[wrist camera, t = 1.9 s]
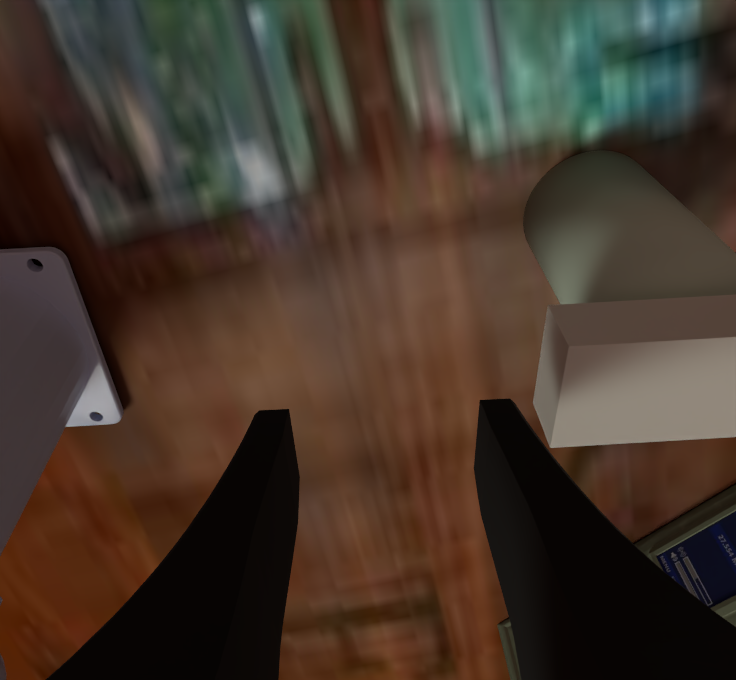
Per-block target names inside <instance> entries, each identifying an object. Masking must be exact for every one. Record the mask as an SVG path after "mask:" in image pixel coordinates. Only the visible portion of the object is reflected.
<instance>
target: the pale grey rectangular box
mask: <svg viewBox="0 0 736 680" xmlns="http://www.w3.org/2000/svg"><path fill="white" fill-rule="evenodd" d="M533 404H534V407H535V409H536V412H537V414H538V417H539V420H540V422H541V425H542V428H543V430H544V433H545V436H546V438H547V441H548V443H549V446H550V448H555V447H572V446H589V445H606V444H623V443H640V442H657V441H674V440H691V439H708V438H725V437H736V294H735V295H718V296H700V297H682V298H665V299H647V300H630V301H612V302H595V303H577V304H560V305H548V308H547V315H546V321H545V328H544V334H543V341H542V347H541V354H540V360H539V367H538V374H537V380H536V387H535V393H534V400H533Z"/></svg>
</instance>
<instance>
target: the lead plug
mask: <svg viewBox="0 0 736 680" xmlns="http://www.w3.org/2000/svg"><path fill="white" fill-rule="evenodd" d="M523 226H524V233H525V237H526V240H527V242H528V244H529V246H530V248H531V250H532V252H533V254H534V255H535V257H536V259H537V261H538V263H539V265H540V267H541V269H542V270H543V272H544V274H545V276H546V278H547V280H548V282H549V283H550V285H551V287H552V289H553V291H554V293H555V295H556V297H557V298H558V300H559V302H560V304H577V303H595V302H612V301H630V300H647V299H665V298H682V297H700V296H718V295H735V294H736V253H735V252H734V251H733V250H732V249H731V248H730V247H729V246H727V245H726V244H725V243H724V242H723V241H722V240H721V239H720V238H719V237H718V236H717V235H716V234H714V233H713V232H712V231H711V230H710V229H709V228H708V227H707V226H706V225H705V224H704V223H702V222H701V221H700V220H699V219H698V218H697V217H696V216H695V215H694V214H693V213H692V212H690V211H689V210H688V209H687V208H686V207H685V206H684V205H683V204H682V203H681V202H680V201H678V200H677V199H676V198H675V197H674V196H673V195H672V194H671V193H670V192H669V191H668V190H667V189H665V188H664V187H663V186H662V185H661V184H660V183H659V182H658V181H657V180H656V179H655V178H653V177H652V176H651V175H650V174H649V173H648V172H647V171H646V170H645V169H644V168H643V167H641V166H640V165H639V164H638V163H637V162H636V161H635V160H633V159H632V158H630V157H628V156H626V155H624V154H622V153H618V152H615V151H608V150H596V151H588V152H584V153H580V154H577V155H575V156H572V157H570V158H568V159H566V160H564V161H562V162H561V163H559V164H558V165H556V166H555V167H553V168H552V169H551V170H550V171H549V172H547V173H546V174H545V175H544V176H543V177H542V178H541V180H540V181H539V182H538V184H537V185H536V186H535V188H534V189H533V191H532V193H531V195H530V197H529V199H528V201H527V204H526V207H525V212H524V220H523Z"/></svg>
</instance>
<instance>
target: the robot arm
mask: <svg viewBox="0 0 736 680" xmlns="http://www.w3.org/2000/svg"><path fill="white" fill-rule="evenodd" d="M31 259H37V260H39V261H40V262H41V263H42V265H43V267H41V266H37V265H35V264H34V263H33V262H32V260H31ZM94 412H98V413H100V414H101V415H98V414H96V413H94ZM123 413H124V412H123V407H122V405H121V402H120V399H119V397H118V394H117V391H116V388H115V386H114V383H113V380H112V378H111V375H110V372H109V369H108V367H107V364H106V361H105V358H104V356H103V353H102V350H101V348H100V345H99V342H98V339H97V337H96V334H95V331H94V329H93V326H92V323H91V320H90V318H89V315H88V312H87V310H86V307H85V304H84V301H83V299H82V296H81V293H80V290H79V288H78V285H77V282H76V280H75V277H74V274H73V271H72V269H71V266H70V263H69V261H68V258H67V257H66V255H65V254H64V253H63V252H62V251H61V250H59V249H57V248H55V247H35V248H17V249H0V555H1V553H2V551H3V549H4V547H5V545H6V543H7V541H8V539H9V538H10V536H11V534H12V532H13V530H14V528H15V526H16V524H17V522H18V520H19V518H20V516H21V514H22V512H23V510H24V508H25V506H26V504H27V502H28V500H29V498H30V496H31V494H32V492H33V490H34V488H35V486H36V484H37V482H38V480H39V478H40V476H41V474H42V472H43V470H44V468H45V466H46V464H47V462H48V460H49V458H50V456H51V454H52V452H53V450H54V448H55V446H56V444H57V442H58V440H59V438H60V436H61V434H62V432H63V430H64V428H65V427H71V426H88V425H105V424H115V423H118V422H119V421H120V420H121V418H122V416H123ZM474 472H475V479H476V486H477V492H478V499H479V505H480V511H481V516H482V520H483V524H484V527H485V531H486V535H487V538H488V542H489V546H490V550H491V553H492V557H493V560H494V564H495V568H496V571H497V575H498V578H499V582H500V586H501V589H502V593H503V597H504V600H505V604H506V607H507V611H508V615H509V619H510V623H511V628H512V632H513V636H514V642H515V647H516V653H517V658H518V664H519V670H520V675H521V680H736V627H735V626H734V625H732V624H731V623H730V622H728V621H727V620H725V619H724V618H723V617H721V616H720V615H718V614H717V613H716V612H714V611H713V610H712V609H710V608H709V607H708V606H707V605H705V604H704V603H703V602H701V601H700V600H699V599H698V598H696V597H695V596H694V595H693V594H691V593H690V592H689V591H688V590H686V589H685V588H684V587H683V586H681V585H680V584H679V583H678V582H676V581H675V580H674V579H673V578H671V577H670V576H669V575H668V574H666V573H665V572H664V571H663V570H662V569H661V568H660V567H658V566H657V565H656V564H655V563H654V562H653V561H652V560H650V559H649V558H648V557H647V556H646V555H645V554H644V553H643V552H641V551H640V550H639V549H638V548H637V547H636V546H635V545H634V544H633V543H632V542H631V541H630V540H629V539H628V538H627V537H626V536H624V535H623V534H622V533H621V532H620V531H619V530H618V529H617V528H616V527H615V526H614V525H613V524H612V523H611V522H610V521H609V520H608V519H607V518H606V517H605V516H604V514H603V513H602V512H601V511H600V510H599V509H598V508H597V507H596V506H595V505H594V504H593V503H592V502H591V500H590V499H589V498H588V497H587V496H586V495H585V494H584V493H583V492H582V491H581V489H580V488H579V487H578V486H577V485H576V484H575V482H574V481H573V480H572V479H571V478H570V477H569V475H568V474H567V473H566V472H565V470H564V469H563V468H562V467H561V466H560V464H559V463H558V462H557V461H556V459H555V458H554V457H553V456H552V454H551V453H550V452H549V451H548V449H547V448H546V447H545V445H544V444H543V443H542V441H541V440H540V439H539V437H538V436H537V435H536V433H535V432H534V431H533V429H532V428H531V426H530V425H529V424H528V422H527V421H526V419H525V418H524V416H523V415H522V413H521V412H520V410H519V409H518V407H517V406H516V404H515V403H514V402H513V401H512V400H511V399H492V400H480V405H479V416H478V428H477V439H476V451H475V463H474ZM299 479H300V476H299V470H298V464H297V457H296V451H295V445H294V438H293V432H292V426H291V419H290V413H289V409H281V410H260V411H258V412H257V413H256V414H255V415H254V418H253V420H252V422H251V424H250V426H249V428H248V430H247V432H246V434H245V436H244V438H243V440H242V442H241V444H240V446H239V448H238V449H237V451H236V453H235V455H234V457H233V458H232V460H231V462H230V464H229V465H228V467H227V469H226V470H225V472H224V474H223V475H222V477H221V479H220V480H219V482H218V483H217V485H216V487H215V488H214V490H213V492H212V493H211V495H210V496H209V498H208V499H207V501H206V502H205V504H204V505H203V507H202V508H201V509H200V511H199V512H198V514H197V515H196V517H195V518H194V520H193V521H192V523H191V524H190V525H189V527H188V528H187V530H186V531H185V532H184V534H183V535H182V536H181V538H180V539H179V540H178V542H177V543H176V544H175V546H174V547H173V548H172V550H171V551H170V552H169V553H168V555H167V556H166V557H165V558H164V559H163V561H162V562H161V563H160V564H159V566H158V567H157V568H156V569H155V570H154V572H153V573H152V574H151V575H150V576H149V577H148V578H147V580H146V581H145V582H144V583H143V584H142V585H141V586H140V588H139V589H138V590H137V591H136V592H135V593H134V594H133V595H132V597H131V598H130V599H129V600H128V601H127V602H126V603H125V604H124V605H123V606H122V607H121V608H120V610H119V611H118V612H117V613H116V614H115V615H114V616H113V617H112V618H111V619H110V620H109V621H108V622H107V623H106V624H105V625H104V626H103V627H102V628H101V629H100V630H99V631H98V632H96V633H95V634H94V635H93V636H92V637H91V638H90V639H89V640H88V641H87V642H86V643H85V644H84V645H83V646H82V647H81V648H80V649H79V650H78V651H77V652H76V653H75V654H74V655H73V656H72V657H71V658H70V659H69V660H67V661H66V662H65V663H64V664H63V665H62V666H61V667H60V668H59V669H57V670H56V671H55V672H54V673H53V674H52V675H50V676H49V677H48V678H47V679H46V680H278V676H279V659H280V644H281V635H282V626H283V619H284V613H285V606H286V599H287V593H288V586H289V580H290V573H291V566H292V560H293V553H294V546H295V539H296V532H297V525H298V508H299ZM1 602H2V598H1V597H0V604H1ZM0 680H6V670H5V665H4V661H3V658H2V657H1V655H0Z"/></svg>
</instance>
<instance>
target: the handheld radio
mask: <svg viewBox="0 0 736 680" xmlns="http://www.w3.org/2000/svg"><path fill="white" fill-rule="evenodd" d="M634 545H635V546H636V547H637V548H638V549H639V550H640V551H641V552H643V553H644V554H645V555H646V556H647V557H648V558H649V559H650V560H652V561H653V562H654V563H655V564H656V565H657V566H658V567H660V568H661V569H662V570H663V571H664V572H665V573H666V574H668V575H669V576H670V577H671V578H673V579H674V580H675V581H676V582H678V583H679V584H680V585H681V586H683V587H684V588H685V589H686V590H688V591H689V592H690V593H691V594H693V595H694V596H695V597H696V598H698V599H699V600H700V601H701V602H703V603H704V604H705V605H707V606H708V607H709V608H710V609H712V610H713V611H714V612H716V613H717V614H718V615H720V616H721V617H723V618H724V619H725V620H727V621H728V622H730V623H731V624H732V625H734V626H735V627H736V484H735V485H734V486H732V487H730V488H729V489H727V490H725V491H724V492H722V493H720V494H718V495H717V496H715V497H713V498H712V499H710V500H708V501H707V502H705V503H703V504H701V505H700V506H698V507H696V508H695V509H693V510H691V511H690V512H688V513H686V514H684V515H683V516H681V517H679V518H678V519H676V520H674V521H673V522H671V523H669V524H668V525H666V526H664V527H662V528H661V529H659V530H657V531H656V532H654V533H652V534H651V535H649V536H647V537H645V538H644V539H642V540H640V541H639V542H637V543H635V544H634ZM498 629H499V633H500V638H501V642H502V646H503V650H504V654H505V658H506V662H507V667H508V671H509V675H510V679H511V680H521V675H520V670H519V664H518V658H517V653H516V647H515V642H514V636H513V632H512V628H511V623H510V619H509V618H508V619H506V620H505V621H503V622H501V623H500V624H498Z"/></svg>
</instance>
